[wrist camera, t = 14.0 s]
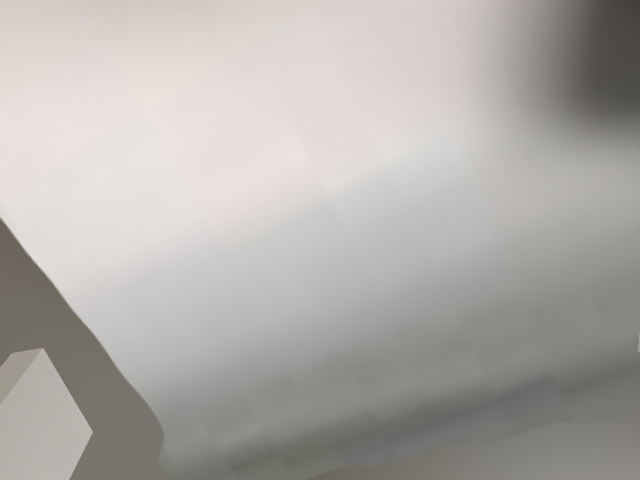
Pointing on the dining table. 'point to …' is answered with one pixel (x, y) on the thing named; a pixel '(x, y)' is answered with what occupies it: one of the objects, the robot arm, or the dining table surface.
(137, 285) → the dining table surface
